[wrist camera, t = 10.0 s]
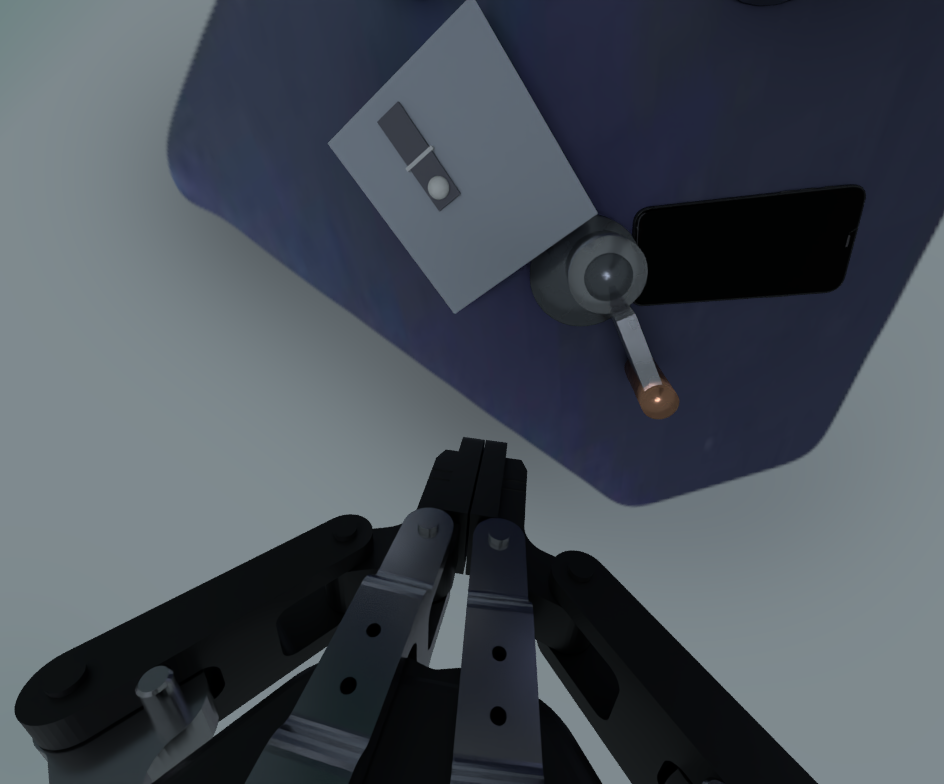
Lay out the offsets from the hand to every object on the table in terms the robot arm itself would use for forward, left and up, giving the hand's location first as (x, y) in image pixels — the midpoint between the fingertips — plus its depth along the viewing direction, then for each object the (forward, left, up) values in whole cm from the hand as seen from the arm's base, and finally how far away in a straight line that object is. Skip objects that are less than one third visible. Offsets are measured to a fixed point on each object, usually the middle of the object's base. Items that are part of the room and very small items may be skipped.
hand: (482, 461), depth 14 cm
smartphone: (-15, +7, -24) cm, 29 cm away
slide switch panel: (-2, -9, -23) cm, 25 cm away
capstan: (-5, +4, -23) cm, 24 cm away
